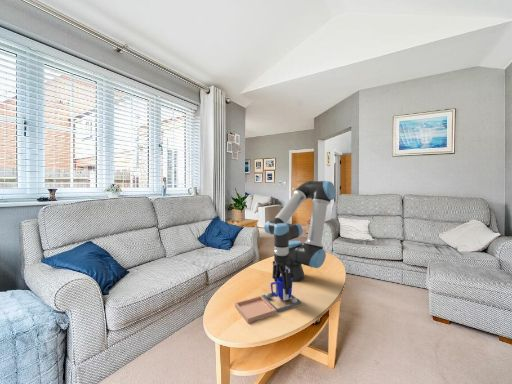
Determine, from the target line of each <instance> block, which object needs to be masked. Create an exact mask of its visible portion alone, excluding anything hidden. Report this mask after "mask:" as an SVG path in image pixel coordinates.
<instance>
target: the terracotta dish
mask: <svg viewBox="0 0 512 384" xmlns="http://www.w3.org/2000/svg"><path fill="white" fill-rule="evenodd" d="M234 307H235V309H236V310H237V311H238V313H239V314H240V315H241V317H243V319H244V320H245V322H246V323H247V324H249V323H252V322H256V321H259V320H261V319H265V318H268V317H271V316H275V315H277V312H276V309H275V308H274V307H273V306H272V305H270V304H269V303H268V302H267V301H266V300H265V299H264V298H263V297H262V295H259V296H255V297H251V298H247V299H244V300H240V301H239V300H238V301H236V302H234Z"/></svg>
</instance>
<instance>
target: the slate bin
mask: <svg viewBox="0 0 512 384" xmlns="http://www.w3.org/2000/svg"><path fill="white" fill-rule="evenodd" d="M269 293H270V295H271V297H274V296H273V295H272V292H269ZM273 293H274V295H277V294H275V291H273ZM265 295H266V293H265V294H262V295H261V296H262V297H263V298H264V299H265V300H266V301H267V302H268V303H269V304H270V305H272V306H273V307H274V308H275V309H276V313H280V312H283V311H285V310H288V309H292V308H293V307H297V306H301V305H302V301H301V300H300V299H298V298H297V297H296V296H295V295H293V294H291V298H290V299H292V298H296V299H297V300H298V302H296V303H290V304H287V305H284V306H280V307H276V306H275V304H273V303H272V302H271V301H270V299H266V297H265Z"/></svg>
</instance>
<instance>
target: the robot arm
mask: <svg viewBox="0 0 512 384" xmlns="http://www.w3.org/2000/svg"><path fill="white" fill-rule="evenodd" d="M292 192H293V193H292V195H291V197H290V198H289V199H288V201H287V202H286V203H285V204H284V206H283V207H282V208H281V209H280V211H279V212H278V213H277V214H276V216H275V217H274V218H273V219H272V220H267V221H266V222H264V225H263V229H264V231H265V233H267V234H269V235H272V236H274V237H273V238H274V239H273V241H274V242H273V243H274V244H273V245H274V247H273V248H274V250H273V251H274V254H273V257H274V258H273V261H272V277H271V278H272V279H273V282H277V278H278V277H280V276H282V278H283V283H284V288H283V299H282V300H283V301H288V300H290V299H289V288H292V289H293V282H300V281H303V280H304V279H305V272H304V269H303V266H302V265H304V266H307V267H309V268H314V269H319V268H320V267H322V266H323V265H324V263H325V259H326V256H327V255H326V251H325V249H324V245H323V244H322V240H323V236H324V235H323V234H324V233H323V232H324V227H325V220H326V216H327V215H326V214H327V209H328V206H329V205H330V204H331V201H333V200H334V199H335V197H336V187H335V184H334V183H333V182H331V181H328V180H308V181H306V182H303V183H302V184H300V185H298V186H297V188H296V189H295V190H294V191H292ZM308 199H311V201H312V203H313V204H312V210H311V214H310V215H311V217H310V220H309V221H310V222H309V225H308V227H309V228H308V233H307V238H306V240H305V241H304V242H302V241H300V240H294V239H298V238H299V237H301V236H302V235H303V230H304V229H303V227H302V225H300V224H299V223H288V222H289V220H290V219H291V218H292V217H293V215H294V214H295V213H296V211H297V210H298V208H300V206H301V205H302V204H303V203H305V202H306V200H308ZM291 278H292V279H293V281H292V283H291ZM274 289H275V290H274V292H275V294H278V287H277V284H274Z"/></svg>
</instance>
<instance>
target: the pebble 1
mask: <svg viewBox="0 0 512 384" xmlns="http://www.w3.org/2000/svg"><path fill="white" fill-rule="evenodd" d="M270 293H271V292H267V293H265V294H266V295H265V294H264V295H265V297H266V299H268V300H270V299H271V297H272V296H271V295H270Z"/></svg>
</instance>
